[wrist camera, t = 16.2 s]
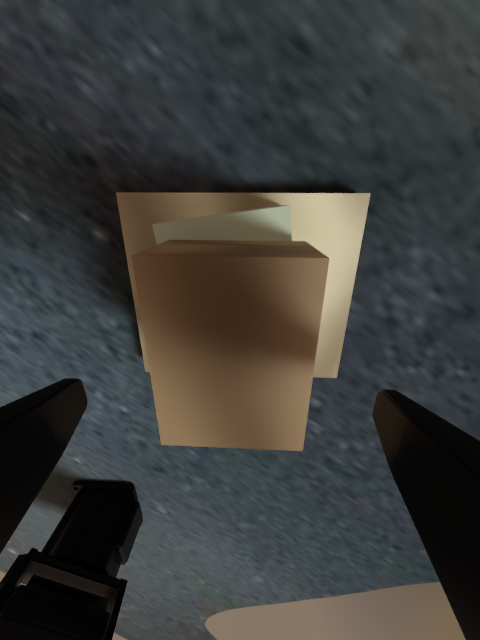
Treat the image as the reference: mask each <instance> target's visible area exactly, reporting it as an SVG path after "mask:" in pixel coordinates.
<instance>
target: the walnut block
mask: <svg viewBox="0 0 480 640" xmlns="http://www.w3.org/2000/svg"><path fill="white" fill-rule="evenodd" d="M131 256H132V262H133V268H134V275H135V281H136V287H137V294H138V300H139V306H140V313H141V319H142V325H143V332H144V338H145V344H146V351H147V357H148V363H149V370H150V376H151V382H152V388H153V395H154V401H155V407H156V414H157V420H158V426H159V433H160V439H161V445H177V446H200V447H222V448H245V449H267V450H289V451H303V445H304V438H305V430H306V423H307V416H308V409H309V402H310V394H311V387H312V380H313V373H314V366H315V359H316V351H317V344H318V337H319V330H320V323H321V315H322V308H323V301H324V294H325V287H326V280H327V272H328V265H329V257H327V256H326V255H324V254H323V253H321V252H320V251H319V250H317V249H316V248H314V247H313V246H311V245H310V244H309V243H307V242H306V241H237V240H168V241H165V242H163V243H161V244H158V245H156V246H153V247H151V248H148V249H146V250H144V251H141V252H139V253H136V254H134V255H131Z"/></svg>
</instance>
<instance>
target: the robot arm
mask: <svg viewBox="0 0 480 640" xmlns="http://www.w3.org/2000/svg"><path fill="white" fill-rule="evenodd" d="M86 407H87V397H86V393H85V390H84V386H83V383H82V381H81V380H80V379H74V378H66V379H63V380H61V381H58V382H56V383H54V384H52V385H50V386H47V387H45V388H43V389H41V390H38V391H36V392H34V393H32V394H29V395H27V396H25V397H23V398H20V399H18V400H16V401H14V402H11V403H9V404H7V405H5V406H2V407H0V554H1V552H2V550H3V549H4V547H5V546H6V544H7V542H8V541H9V539H10V538H11V536H12V534H13V533H14V531H15V530H16V528H17V526H18V525H19V523H20V522H21V520H22V518H23V517H24V515H25V514H26V512H27V510H28V509H29V507H30V506H31V504H32V502H33V501H34V499H35V498H36V496H37V495H38V493H39V491H40V490H41V488H42V487H43V485H44V483H45V482H46V480H47V479H48V477H49V475H50V474H51V472H52V471H53V469H54V467H55V466H56V464H57V463H58V461H59V459H60V458H61V456H62V454H63V452H64V450H65V449H66V447H67V445H68V443H69V441H70V439H71V437H72V435H73V433H74V431H75V429H76V427H77V425H78V423H79V421H80V419H81V417H82V415H83V413H84V411H85V409H86ZM373 419H374V422H375V426H376V429H377V432H378V435H379V438H380V441H381V444H382V447H383V450H384V453H385V456H386V459H387V462H388V465H389V467H390V470H391V473H392V475H393V477H394V480H395V482H396V484H397V486H398V489H399V491H400V493H401V495H402V498H403V500H404V502H405V504H406V507H407V509H408V511H409V513H410V516H411V518H412V520H413V522H414V525H415V527H416V529H417V531H418V534H419V536H420V538H421V540H422V542H423V545H424V547H425V549H426V551H427V554H428V556H429V558H430V560H431V563H432V565H433V567H434V569H435V572H436V574H437V576H438V578H439V581H440V583H441V585H442V587H443V589H444V592H445V594H446V596H447V598H448V601H449V603H450V605H451V607H452V609H453V612H454V614H455V616H456V619H457V621H458V623H459V625H460V627H461V630H462V632H463V634H464V637H465V639H466V640H480V441H479V440H477V439H476V438H474V437H472V436H471V435H469V434H467V433H466V432H464V431H462V430H461V429H459V428H457V427H456V426H454V425H452V424H451V423H449V422H447V421H446V420H444V419H442V418H441V417H439V416H437V415H436V414H434V413H432V412H431V411H429V410H427V409H426V408H424V407H423V406H421V405H419V404H418V403H416V402H414V401H413V400H411V399H409V398H408V397H406V396H404V395H403V394H401V393H399V392H398V391H396V390H389V389H381V390H379V392H378V394H377V397H376V401H375V405H374V408H373ZM71 489H72V492H73V495H74V497H75V498H74V499H73V501H72V502H71V504H70V506H69V507H68V509H67V511H66V512H65V514H64V515H63V517H62V519H61V520H60V522H59V524H58V525H57V527H56V529H55V530H54V532H53V533H52V535H51V537H50V538H49V540H48V542H47V543H46V545H45V546H44V548H43V550H42V551H41V552H39V551H38V549H35V548H31V550H30V551H29V553H28V554H23V555H19V556H18V557H17V559H16V560H15V562H14V563H13V565H12V566H11V568H10V569H9V571H8V572H7V574H6V575H5V577H4V578H3V579H2V581H1V582H0V640H112V637H113V633H114V629H115V626H116V622H117V618H118V614H119V611H120V607H121V603H122V600H123V596H124V592H125V588H126V585H127V580H125V579H121V580H120V579H118V578H116V576H117V573H118V570H119V568H120V565H124V564H125V563H126V562H127V561H128V558H129V555H130V552H131V550H132V547H133V544H134V541H135V538H136V536H137V533H138V530H139V527H140V526H141V525H142V522H143V520H142V519H143V517H142V512H141V508H140V504H139V502H138V498H137V494H136V490H135V487H134V486H133V485H131V484H117V483H98V482H79V481H76V482H74V483H73V485H72V486H71ZM20 583H23V584H26V586H25V585H20ZM19 585H20V586H19Z"/></svg>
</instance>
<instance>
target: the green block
mask: <svg viewBox="0 0 480 640" xmlns="http://www.w3.org/2000/svg"><path fill="white" fill-rule="evenodd" d="M152 227H153V231H154V235H155V239H156V243H157V245H158V244H161V243H163V242H165V241H168V240H237V241H292V231H291V211H290V205H279V206H272V207H265V208H257V209H250V210H243V211H236V212H229V213H222V214H215V215H208V216H200V217H193V218H186V219H179V220H173V221H168V222H163V223H157V224H152Z"/></svg>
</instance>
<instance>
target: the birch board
mask: <svg viewBox="0 0 480 640" xmlns="http://www.w3.org/2000/svg"><path fill="white" fill-rule="evenodd" d="M370 194H371V193H142V192H116V196H117V202H118V208H119V214H120V220H121V226H122V233H123V239H124V245H125V251H126V257H127V263H128V269H129V275H130V281H131V287H132V293H133V299H134V305H135V311H136V317H137V323H138V329H139V335H140V341H141V347H142V353H143V359H144V365H145V371H146V372H150V370H149V363H148V357H147V351H146V344H145V338H144V332H143V325H142V319H141V313H140V306H139V300H138V294H137V287H136V281H135V275H134V268H133V262H132V256H131V255H134V254H136V253H139V252H141V251H144V250H146V249H148V248H151V247H153V246H156V245H157V243H156V239H155V235H154V231H153V227H152V224H157V223H163V222H168V221H173V220H179V219H186V218H193V217H200V216H208V215H215V214H222V213H229V212H236V211H243V210H250V209H257V208H265V207H272V206H279V205H290V211H291V231H292V241H306V242H307V243H309V244H310V245H311V246H313V247H314V248H316V249H317V250H319V251H320V252H321V253H323V254H324V255H326V256H327V257H329V265H328V272H327V280H326V287H325V294H324V301H323V308H322V315H321V323H320V330H319V337H318V344H317V351H316V359H315V366H314V373H313V377H321V378H337V373H338V368H339V363H340V357H341V352H342V346H343V341H344V335H345V330H346V324H347V319H348V313H349V308H350V303H351V297H352V292H353V286H354V281H355V275H356V270H357V264H358V259H359V254H360V248H361V243H362V237H363V232H364V226H365V221H366V215H367V210H368V205H369V199H370Z"/></svg>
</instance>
